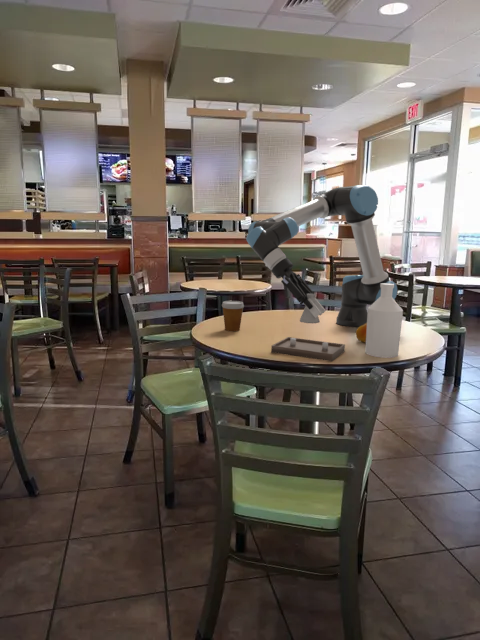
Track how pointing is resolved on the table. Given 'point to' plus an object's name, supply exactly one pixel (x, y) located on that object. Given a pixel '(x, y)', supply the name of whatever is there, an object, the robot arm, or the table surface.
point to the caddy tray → (308, 348)
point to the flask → (307, 315)
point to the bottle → (384, 325)
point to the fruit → (361, 333)
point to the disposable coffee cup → (232, 315)
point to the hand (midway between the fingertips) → (320, 314)
